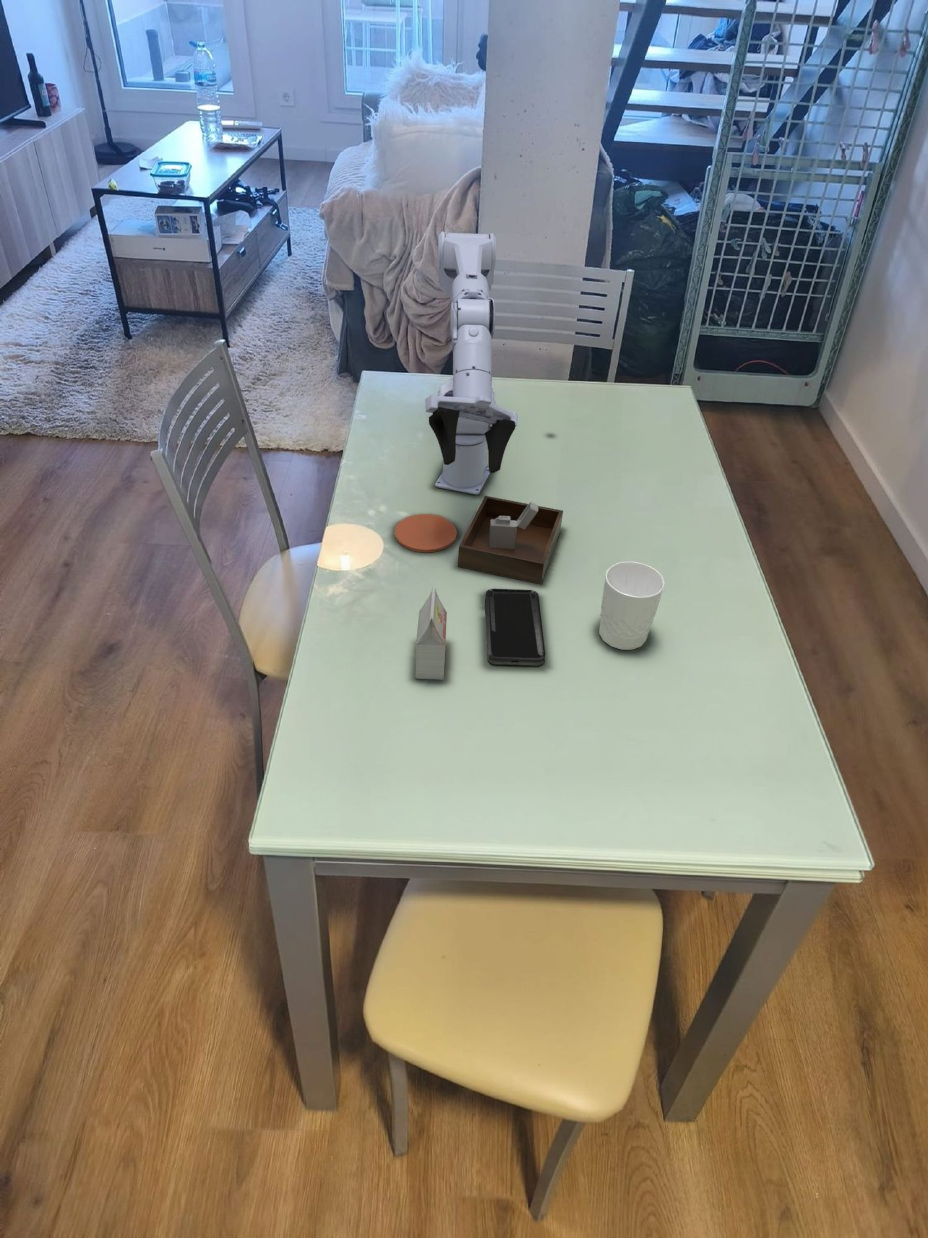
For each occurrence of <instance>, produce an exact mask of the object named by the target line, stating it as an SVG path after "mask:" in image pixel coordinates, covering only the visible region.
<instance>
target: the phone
mask: <svg viewBox="0 0 928 1238" xmlns="http://www.w3.org/2000/svg"><path fill="white" fill-rule="evenodd" d="M484 597H485V599H484V603H485V604H484V614H485V628H486V651H487V652H486V654H487V661H488V662H489V663H490V664H492V665H494V666H495V665H496V666H498V665H499V666H525V667H526V666H527V667H528V666H530V667H532V666H533V667H540V666H541V665H543V664H544V663H545V661H546V648H545V646H546V645H545V638H544V630H543V621H542V620H543V619H542V613H541V604H540V595H539V593H538V592H537V591H536V590H533V589H520V588H519V589H516V588H515V589H514V588H489V589H487V590H486V591H485V595H484Z"/></svg>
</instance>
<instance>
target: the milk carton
mask: <svg viewBox="0 0 928 1238" xmlns="http://www.w3.org/2000/svg"><path fill="white" fill-rule="evenodd" d="M447 616H448V611H447V610H446V608H445V606H444V605H443V602H442V601H441V599H440V597H439V594H438V592H437V588H436V587H435V588H433V587H432V589H431V592H430V594H429V596H428V597H427V599H426V600H425V601H424V603H423V604H422V606H421V607H420V608H419V610H418V618H417V619H418V620H417V628H416V638H415V679H417V680H418V679H420V680H442V681H444V679H445V661H446V645H447V643H446V641H447V619H448V617H447Z"/></svg>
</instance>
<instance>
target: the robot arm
mask: <svg viewBox="0 0 928 1238" xmlns="http://www.w3.org/2000/svg"><path fill="white" fill-rule="evenodd" d="M496 260H497V237H496V236H495V234H494V233H493V232H489V233H467V232H466V233H465V232H445V231H440V233H439V234H438V235H437V273H438V276H437V277H438V278H437V279H438V280H437V282H438V283H439V290H440V291H442V292H444V293H445V294H446V295H448V296H449V301H450V304H451V305H450V317H449V320H450V321H449V330H450V337H451V351H452V355H453V356H452V377H451V378H450V379H449V380H447V381H446V382H444V383H443V384H441V385H440V386H439V389H438V391H437V395H436V394H431V395H429V396H428V397H426V398H425V413H429V414H431V415H429V417H428V425H429V426H430V428H431V429H432V431H433V434H434V435H435V438H436V441H437V443H438V445H439V449H440V452H441V456H442V472H441V473H440V476H439V477H438V479H437V480H436V481H435V484H434V487H436V488H440V489H444V490H448V491H449V490H451V491H455V492H461V493H465V494H471V495H475V496H478V495H480V494H481V491H482V489H483V488H484V486H485V483H486V482H487V480H488V477H489V476H490V474H495V473H497V472H499V471H501V467H502V463H503V458H504V455H505V451H506V449H507V446H508V443H509V441H510V439H511V437H512V435H513V433H514V431H515V429H516V427H518V413H517V412H513V411H509V410H507V409H505V408H504V407H501V406H499V405H497V403H496V399H495V391H494V388H493V354H492V351H493V348H492V347H493V346H492V344H493V343H492V341H493V338H494V335H495V331H496V330H495V329H496V305H495V300H494V298H493V297H490V292H491V291H492V285H493V284H494V279H495V278H494V276H495V269H496V262H497V261H496Z"/></svg>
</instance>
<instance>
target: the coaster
mask: <svg viewBox="0 0 928 1238" xmlns="http://www.w3.org/2000/svg"><path fill="white" fill-rule="evenodd" d="M457 533H458V531H457V528H456V526H455V525H454V523H453V522H451V521H450V520H449V519H447V518H445V517H442V516H440V515H436V514H431V513H429V514H428V513H419V514H414V515H410V516H407V517H405V518H403V519H401V520H400V521H399V522H398V523H397V524H396V525H395V527H394V538H395V540H396V541H397V543H398V544H399V545H401V546H402V547H403V548H405V549H407V550H409V551H413V552H418V553H436V552H441V551H443V550H445V549H448V548H449V547H451V546H452V545H453V544H454V543H455V541H456V539H457Z"/></svg>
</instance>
